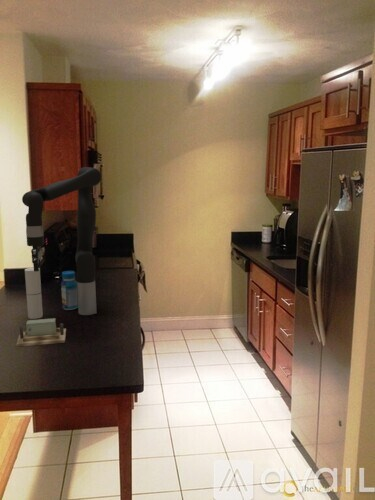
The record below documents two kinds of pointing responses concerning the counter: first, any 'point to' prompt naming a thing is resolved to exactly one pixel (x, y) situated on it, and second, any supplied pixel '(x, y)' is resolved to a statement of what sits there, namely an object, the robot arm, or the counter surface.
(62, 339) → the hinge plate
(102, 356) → the counter surface
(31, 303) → the cylindrical container
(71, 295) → the blue pill bottle
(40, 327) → the rectangular block
